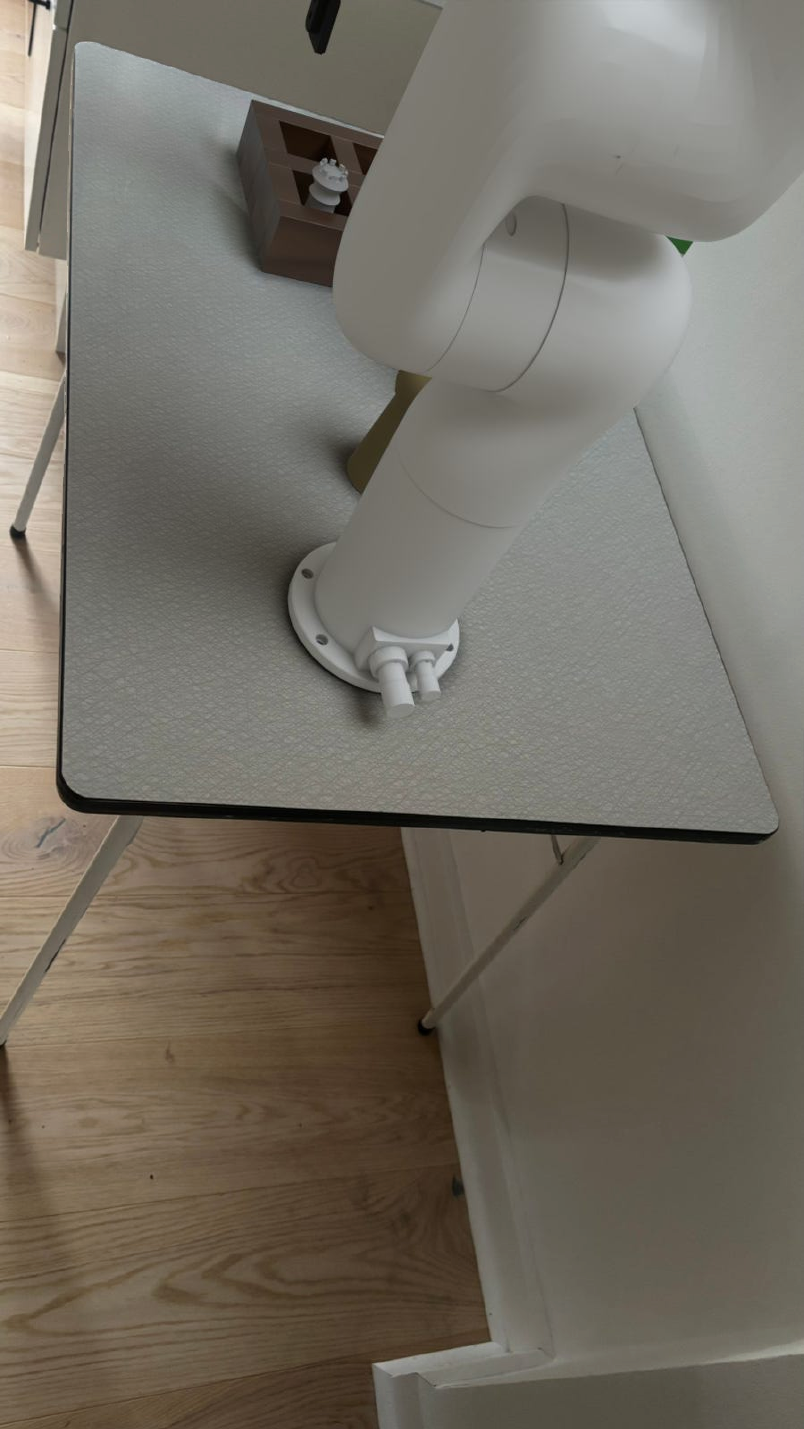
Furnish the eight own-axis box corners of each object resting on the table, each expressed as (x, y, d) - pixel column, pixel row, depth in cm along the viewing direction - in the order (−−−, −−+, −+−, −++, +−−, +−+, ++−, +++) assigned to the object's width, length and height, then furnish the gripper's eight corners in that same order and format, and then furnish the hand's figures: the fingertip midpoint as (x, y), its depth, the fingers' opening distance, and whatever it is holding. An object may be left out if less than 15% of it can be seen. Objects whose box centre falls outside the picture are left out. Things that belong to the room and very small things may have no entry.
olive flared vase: (410, 519, 78) (473, 414, 70) (338, 485, 77) (394, 374, 69) (423, 470, 82) (485, 365, 73) (355, 438, 81) (410, 327, 72)
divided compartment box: (431, 309, 95) (457, 259, 90) (262, 271, 87) (281, 215, 83) (394, 199, 102) (415, 147, 98) (235, 155, 95) (251, 98, 91)
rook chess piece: (330, 246, 93) (361, 166, 87) (324, 273, 91) (355, 193, 84) (284, 226, 92) (313, 143, 86) (276, 252, 89) (305, 169, 83)
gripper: (360, -241, 60) (275, 56, 73) (596, -127, 67) (482, 123, 80) (335, -288, 63) (259, 3, 76) (562, -174, 71) (458, 72, 84)
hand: (373, 64), depth 78 cm, fingers open, 9 cm apart
